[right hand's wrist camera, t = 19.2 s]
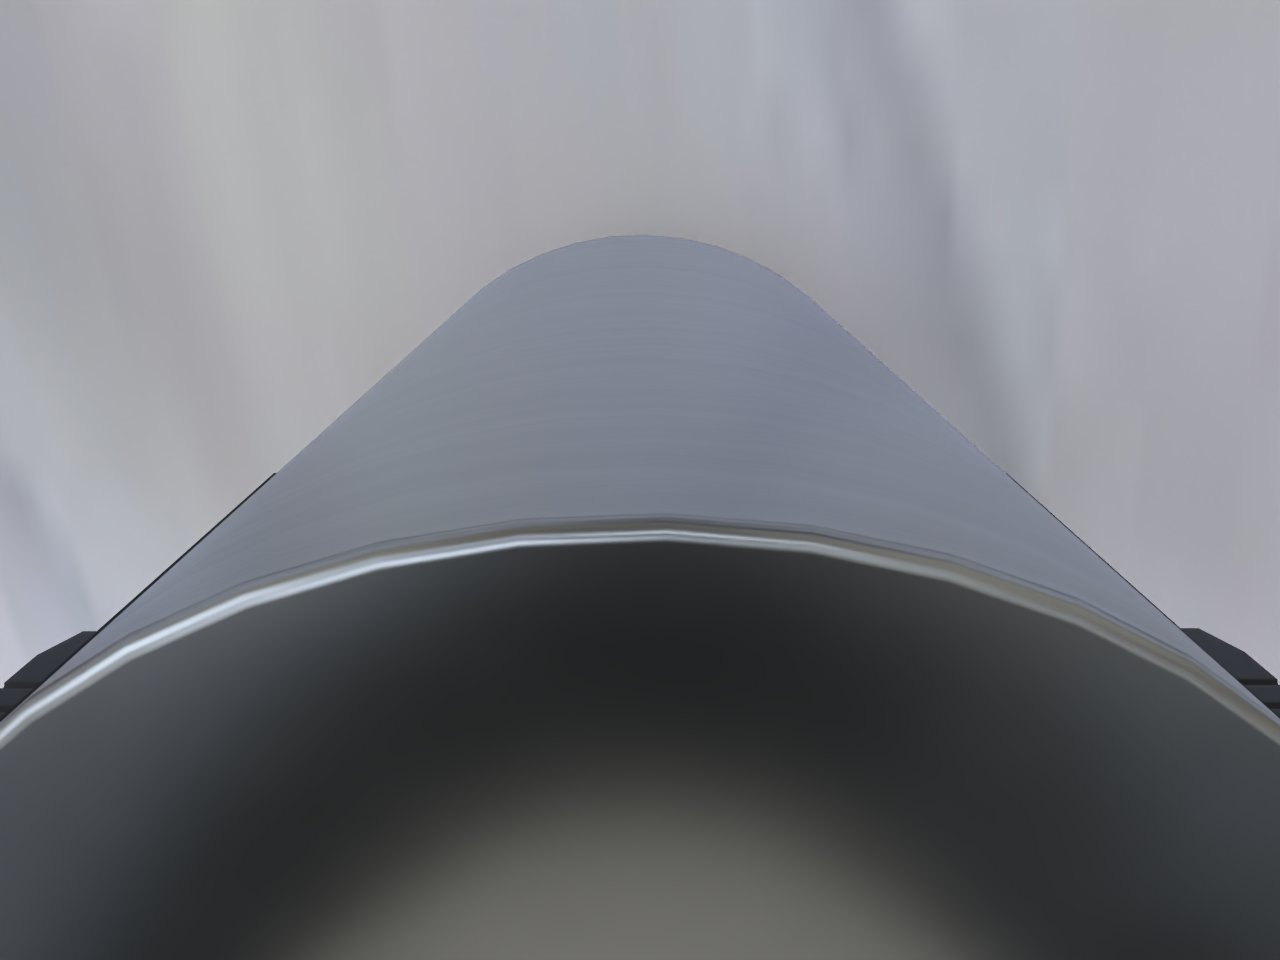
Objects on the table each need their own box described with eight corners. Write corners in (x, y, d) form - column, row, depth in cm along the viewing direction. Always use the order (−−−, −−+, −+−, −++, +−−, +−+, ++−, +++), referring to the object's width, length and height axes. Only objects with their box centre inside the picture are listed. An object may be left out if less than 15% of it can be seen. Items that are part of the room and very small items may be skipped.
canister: (987, 408, 16) (1862, 1065, 5) (712, 765, 19) (827, 1737, 7) (545, 125, 15) (176, 43, 3) (313, 561, 17) (-348, 1404, 6)
